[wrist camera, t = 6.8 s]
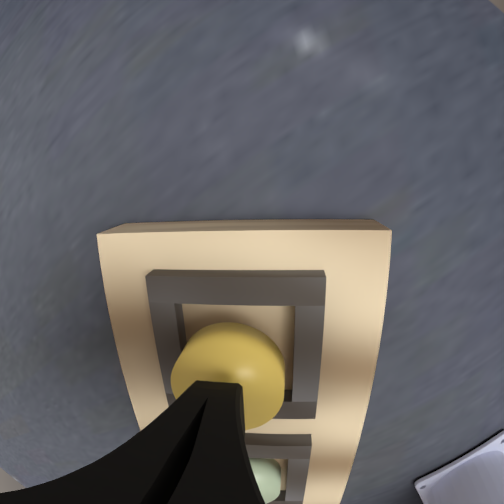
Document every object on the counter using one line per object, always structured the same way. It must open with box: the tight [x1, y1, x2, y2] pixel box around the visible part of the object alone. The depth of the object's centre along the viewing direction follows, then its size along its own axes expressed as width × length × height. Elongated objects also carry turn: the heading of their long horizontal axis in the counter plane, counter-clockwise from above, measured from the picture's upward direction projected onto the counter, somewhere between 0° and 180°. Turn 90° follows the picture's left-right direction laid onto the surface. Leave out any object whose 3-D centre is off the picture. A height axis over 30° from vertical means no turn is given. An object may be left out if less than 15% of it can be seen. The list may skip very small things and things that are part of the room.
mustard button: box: [171, 322, 285, 430], centre depth 10 cm, size 4×4×1 cm
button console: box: [97, 219, 392, 504], centre depth 15 cm, size 25×11×3 cm, turn 2°
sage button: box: [249, 458, 281, 504], centre depth 13 cm, size 4×4×1 cm
